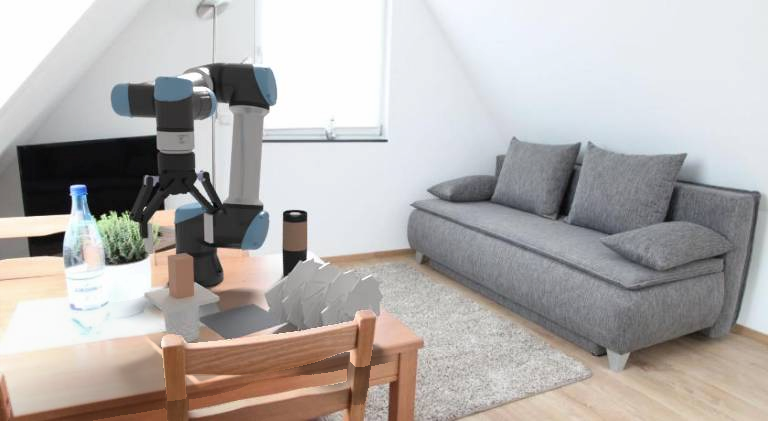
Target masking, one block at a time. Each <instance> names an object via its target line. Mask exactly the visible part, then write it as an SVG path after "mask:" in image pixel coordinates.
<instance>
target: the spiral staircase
mask: <svg viewBox="0 0 768 421" xmlns="http://www.w3.org/2000/svg"><path fill="white" fill-rule="evenodd" d="M354 271H355V270H354V269H350V270H348V271H346V272H343V270H340V267H338V266H334V265H333V266H332V265H331V262H327V263H325V264H323V263H320V262H316V261H315V259H314V257H311V258H309V259H307V260H306V261H304V262H302V261H301V260H300V261H299V262H298V264H297V265H296V266H295V268H294V269H293V270H292V272H291V273H289V274H288V276H285V277H283V278H282V279H281V280H280V281H278V282H277V283H275V284H274V285H272V286H271V287H270V288H269V289H267V290H266V291H264V297H265V300H266V304H267V306H268V310H267V311H268V312H269V313H271V314H272V315H273V316H275V317H276V318H277V319H279V321H278V323H279V324H281V323H284V324H288V323H290V324H292V325H294V326H295V327H297V332H300V331H299V330H302V331H305V330H304V329H306V330H310V329H311V328H317V327H322V326H328V325H334V324H339V323H343V322H349V321H353V320H354V318H355V314H356V312H357V311H361V310H371V311H373V312H374V313H375V314H376V316H377V318H379V317H380V316H381V308H380V307H381V306H380V305H381V304H380V303H381V301H382V299H383V298H384V295H383V294H382V292H381V290H380V285H381V281H379V280H376V279H373V274H369V275H367V276H365V277H363V278H362V277H359V276H358V275H356V274H355V272H354ZM281 325H282V324H281Z"/></svg>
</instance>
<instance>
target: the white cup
mask: <svg viewBox="0 0 768 421" xmlns="http://www.w3.org/2000/svg"><path fill="white" fill-rule="evenodd" d="M200 312H201V305H200V306H196V307H192V308H188V309H184V310H180V311H176V312H172V313H168V314H166V313H165V312H164V311H163V317H164V325H165V331H166V335H167V334H175V335H181V336H182V337H183V338H184V340H185V341H186V342H188V343H190V342H193V341H196V340H197V339H198V338H199V331H200V330H199V329H200V322H201V321H200V317H201V313H200Z"/></svg>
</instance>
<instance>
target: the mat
mask: <svg viewBox="0 0 768 421" xmlns="http://www.w3.org/2000/svg"><path fill="white" fill-rule="evenodd" d="M278 321H279V319H277V318H276V317H275V316H273V315H272V314H271V313H269V312H268V310H266V309H264V308H262V307H260V306H259V305H257V304H255V303H253V302H252V303H248V304H245V305H241V306H237V307H233V308H230V309H226V310H222V311H219V312H214V313H210V314H207V315H203V316H200V322H201V323H202V324H203V325H205V326H207V327H208V328H210V329H211V330H212V331H214V332H215V333H216V334H218V335H220V336H221V337H222V338H224V339H225V340H227V339H231V340H233V339H232V338H235V339H238V338H241V337H244V336H247V335H251V334H254V333H258V332H261V331H264V330H267V329H270V328H274V327H278V326H280V325H284V324H285V323H281V324H279V323H278Z"/></svg>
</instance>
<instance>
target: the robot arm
mask: <svg viewBox="0 0 768 421" xmlns="http://www.w3.org/2000/svg"><path fill="white" fill-rule="evenodd" d="M277 86H278V85H277V81H276V77H275V74H274V71H273V69H272V68H271V67H270V66H269V65H266V64H258V63H254V62H253V63H237V62H236V63H233V62H232V63H231V62H214V63H208V64H204V65H200V66H199V65H198V66H196V67H191V68H188V69H186V70H185V71H184V72H182V73H181V74H176V75H172V76H162V75H159V76H157V77H156V78H155V80H150V81H149V80H148V81H144V82H139V83H131V82H126V83H124V82H123V83H117V84H115V85H114V86H113V87H112V89H111V91H110V105H111V108H112V110H113V112H114V113H115V114H116V115H118V116H120V117H127V118H129V117H130V118H145V119H146V118H149V119H155V122H156V129H155V130H156V149H157V150H158V153H157V169H158V174H157V175H155V176H154V175H149V174H145V175H143V176H142V177H143V178H142V186H141V187H140V190H139V193H138V194H137V197H136V199H135V202H134V204H133V206H132V209H131V211H130V213H129V216H128V219H129V220H130V221H132V222H134V223H138V227H139V237H140V238H141V239H143V240H144V251H145V252H146V253H148V254H150V255H151V254H154V238H153V236H154V235H153V233H154V232H153V223H152V222H150V221H151V219H152V217H153V216H154V215H155V214H156V212H157V211H158V210H159V208H160V207H161V205H162V204H163V203H164V201H165V200H166V199H167V198H169V196H170V195H171V196H177V195H180V194H181V195H187V194H188V193H189V194H190V195H191V196H192V197H193V198H194V199H195V201H197V202H191V203H187V204H183V205H180V206H178V207H177V208H175V211H174V222H173V224H174V235H175V236H174V238H175V239H174V241H175V254H181V253H186V254H188V255H190V256H192V257H193V271H194V282H196V283H197V284H199V285H201V286H202V287H204V288H206V287H211V286H214V285H217V284H219V283H221V282H223V280H224V278H225V277H224V275H225V273H224V268H223V266H222V263H221V261H220V258H219V256H218V249H229V250H230V249H231V250H241V251H246V250H248V251H250V250H251V251H256V250H259V249H260V248H262V246H263V244H264V243H265V241H266V239H267V237H268V232H269V229H270V214H269V211H266V210H264V208H265V207H264V203H263V202H262V200H261V199H260V186H261V185H260V184H261V168H262V152H263V150H262V149H263V137H264V135H263V134H264V120H265V117H266V116H267V115H268V114H269V113H270V107H273V106H275V105H276V104H277V100H278V88H277ZM218 104H228V109H229V111H230V112H231V113H232V114H233V120H232V121H233V122H232V136H231V137H232V138H231V152H230V153H231V154H230V170H229V182H228V183H229V186H228V196H227V198H225V200H223V201H222V200H221V199H220V196H219V195H218V193H217V191H216V189H215V187H214V185H213V184H212V181H211V175H210V172H209V171H205V170H202V169H201V170H200V171H198V172H196V153H195V152H194V150H195V148H196V145H195V142H196V140H195V121H203V120H205V119H208V118H210V117H212V116H213V115H214V114H215V113H216V110H217V106H218ZM197 180H198V181H199V182H200V183H201V185H202V187H203V189H204V191H205V193H206V194H207V197H208V198H209V200H210V201H209V200H207V198H206V197H205V196H204V195H203V194H202V192H200V190H199V189H198V188H197V187H196V186H195V184H196V182H197ZM157 183H158V184H159V185H160V186H159V188H158V189H157V190H156V193H155V195H153V197H152V199H151V200H149V198H150V196H151V194H152V191H153V189H154V188H153V187H155V186H156V184H157ZM148 201H150V202H148Z"/></svg>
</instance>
